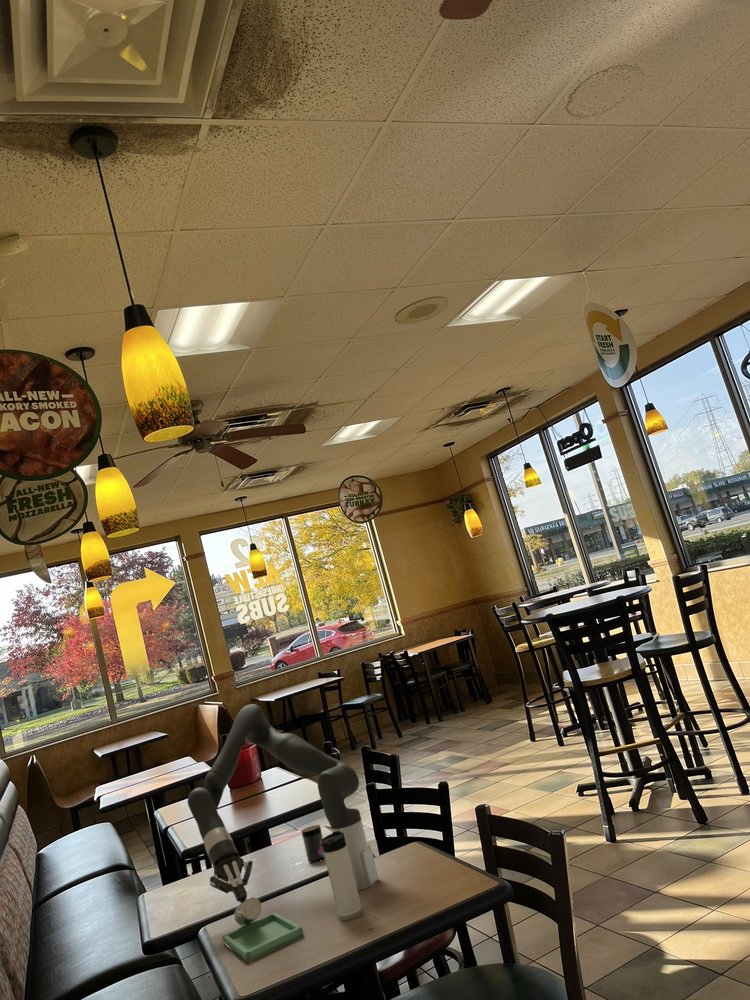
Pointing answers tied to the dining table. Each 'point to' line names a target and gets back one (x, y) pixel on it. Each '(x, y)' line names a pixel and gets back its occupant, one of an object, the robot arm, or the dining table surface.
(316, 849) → the supplement container
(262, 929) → the tray
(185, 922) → the dining table surface
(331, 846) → the travel mug
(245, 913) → the beer can
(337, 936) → the dining table surface
